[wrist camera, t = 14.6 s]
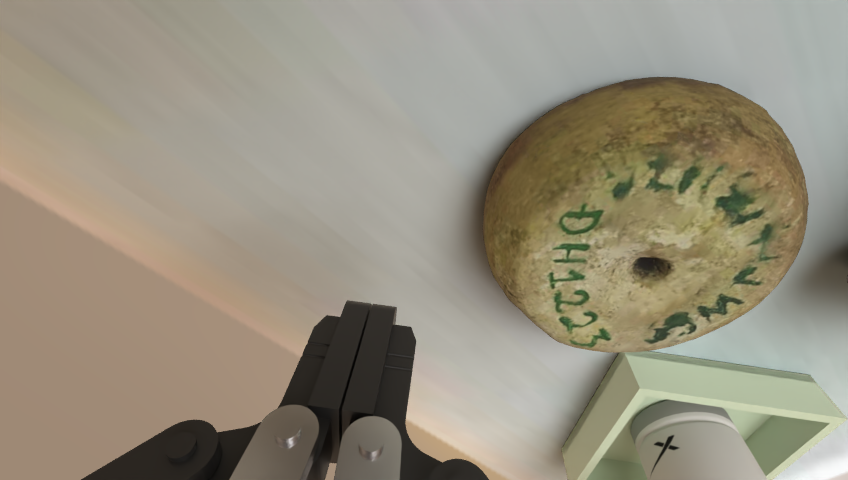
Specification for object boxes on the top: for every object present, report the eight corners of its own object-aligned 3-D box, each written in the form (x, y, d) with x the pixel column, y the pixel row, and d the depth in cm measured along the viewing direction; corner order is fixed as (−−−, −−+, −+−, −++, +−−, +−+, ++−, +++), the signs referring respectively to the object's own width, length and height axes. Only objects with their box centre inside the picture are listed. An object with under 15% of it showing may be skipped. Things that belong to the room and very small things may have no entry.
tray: (561, 449, 32) (569, 489, 30) (622, 347, 25) (639, 388, 23) (710, 470, 32) (731, 512, 30) (809, 375, 25) (847, 418, 23)
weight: (690, 321, 24) (738, 394, 20) (465, 299, 24) (467, 366, 20) (833, 84, 17) (957, 122, 12) (505, 57, 17) (520, 85, 13)
